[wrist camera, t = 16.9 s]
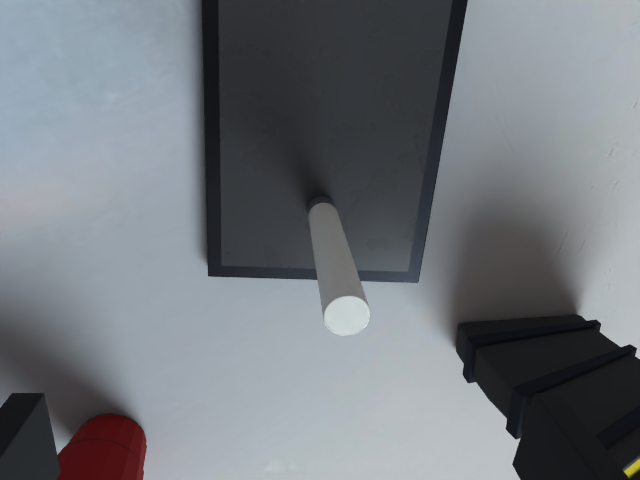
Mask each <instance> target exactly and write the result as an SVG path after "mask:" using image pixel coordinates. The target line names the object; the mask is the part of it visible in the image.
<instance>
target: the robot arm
mask: <svg viewBox="0 0 640 480" xmlns="http://www.w3.org/2000/svg"><path fill="white" fill-rule="evenodd" d="M512 465H513V467H514V468H515V470H516V472H517V474H518V476H519V477H520V479H521V480H630V478H629V477H628V476H627V475H626V473H625V472H624V471H623V470H622V469H621V467H620V466H619V465H618V464H617V462H616V461H615V460H614V459H613V457H612V456H611V455H610V454H609V452H608V451H607V450H606V449H605V447H604V446H603V445H602V444H601V442H600V441H599V440H598V439H597V438H596V436H595V435H594V434H593V433H592V431H591V430H590V429H589V428H588V426H587V425H586V424H585V423H584V421H583V420H582V419H581V418H580V416H579V415H578V414H577V413H576V412H575V410H574V409H573V408H572V407H571V405H570V404H569V403H568V402H567V400H566V399H565V398H564V397H563V395H562V394H561V393H535V395H534V398H533V402H532V405H531V408H530V411H529V414H528V417H527V420H526V423H525V426H524V430H523V433H522V436H521V439H520V442H519V445H518V448H517V451H516V455H515V458H514V461H513V464H512ZM60 472H61V471H60V466H59V461H58V457H57V452H56V447H55V442H54V438H53V433H52V428H51V424H50V419H49V414H48V409H47V405H46V400H45V395H44V393H12V394H11V395H10V396H9V398H8V399H7V400H6V402H5V403H4V404H3V405H2V407H1V408H0V480H57V478H58V476H59V474H60Z"/></svg>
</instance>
